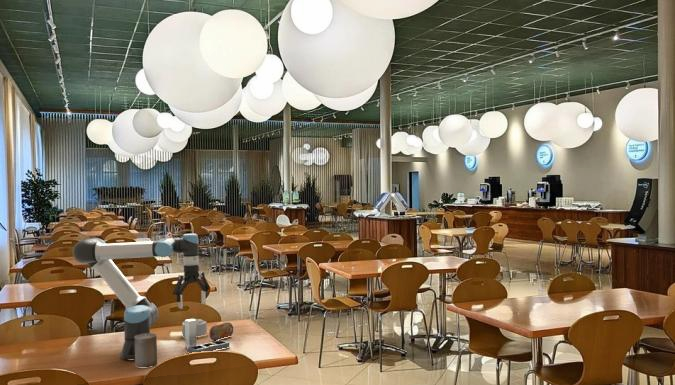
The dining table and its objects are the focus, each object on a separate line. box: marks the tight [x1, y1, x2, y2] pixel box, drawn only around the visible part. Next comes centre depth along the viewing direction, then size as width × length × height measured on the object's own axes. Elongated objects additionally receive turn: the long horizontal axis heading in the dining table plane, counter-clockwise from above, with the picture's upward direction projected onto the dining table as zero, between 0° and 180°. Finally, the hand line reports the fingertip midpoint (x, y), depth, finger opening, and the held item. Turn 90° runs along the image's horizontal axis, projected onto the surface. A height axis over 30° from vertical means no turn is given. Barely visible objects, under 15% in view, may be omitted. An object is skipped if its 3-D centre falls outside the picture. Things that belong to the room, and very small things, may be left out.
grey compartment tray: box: [187, 340, 230, 353], centre depth 291 cm, size 19×7×3 cm, turn 134°
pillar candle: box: [134, 332, 158, 368], centre depth 268 cm, size 10×10×15 cm
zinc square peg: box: [184, 318, 197, 347], centre depth 297 cm, size 4×4×14 cm
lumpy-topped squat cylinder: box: [181, 318, 208, 337], centre depth 322 cm, size 10×13×9 cm
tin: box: [208, 322, 234, 341], centre depth 314 cm, size 15×3×8 cm, turn 143°
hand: (192, 306), depth 298 cm, fingers open, 13 cm apart
